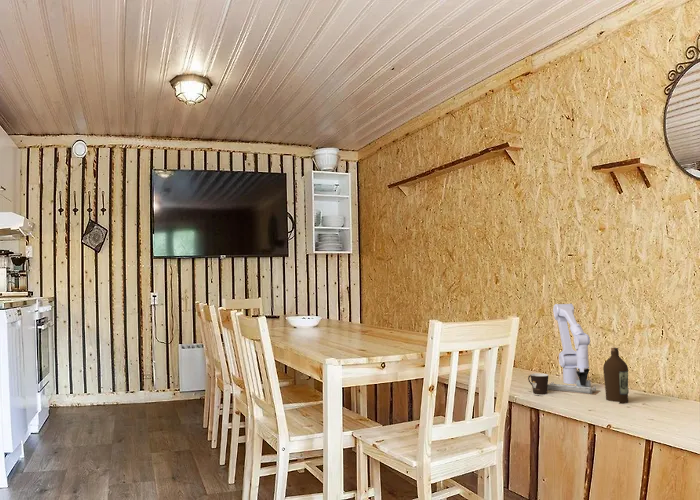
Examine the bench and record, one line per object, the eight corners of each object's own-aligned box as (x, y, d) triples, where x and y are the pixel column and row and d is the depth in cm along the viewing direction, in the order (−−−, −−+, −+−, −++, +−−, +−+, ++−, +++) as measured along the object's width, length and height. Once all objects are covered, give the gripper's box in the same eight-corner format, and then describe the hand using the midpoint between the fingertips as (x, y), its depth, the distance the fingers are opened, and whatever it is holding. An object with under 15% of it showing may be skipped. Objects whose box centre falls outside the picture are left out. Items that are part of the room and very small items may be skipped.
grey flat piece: (552, 386, 298) (551, 382, 298) (596, 390, 285) (595, 386, 285) (546, 389, 291) (546, 384, 291) (591, 394, 278) (591, 389, 278)
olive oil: (600, 401, 266) (597, 348, 267) (613, 397, 272) (610, 346, 273) (621, 405, 257) (618, 350, 258) (634, 401, 263) (631, 348, 264)
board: (549, 387, 300) (548, 386, 300) (600, 392, 284) (600, 390, 284) (542, 391, 291) (542, 389, 291) (595, 396, 276) (595, 394, 276)
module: (578, 388, 296) (578, 377, 296) (590, 389, 292) (590, 378, 292) (576, 390, 292) (576, 378, 293) (588, 391, 289) (588, 379, 289)
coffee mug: (551, 396, 278) (550, 376, 279) (534, 396, 278) (533, 376, 279) (544, 391, 290) (543, 372, 290) (527, 392, 290) (526, 372, 291)
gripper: (575, 355, 301) (576, 381, 301) (572, 359, 288) (574, 386, 288) (589, 356, 298) (591, 381, 297) (587, 359, 285) (589, 386, 284)
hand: (583, 384), depth 292 cm, fingers open, 7 cm apart
